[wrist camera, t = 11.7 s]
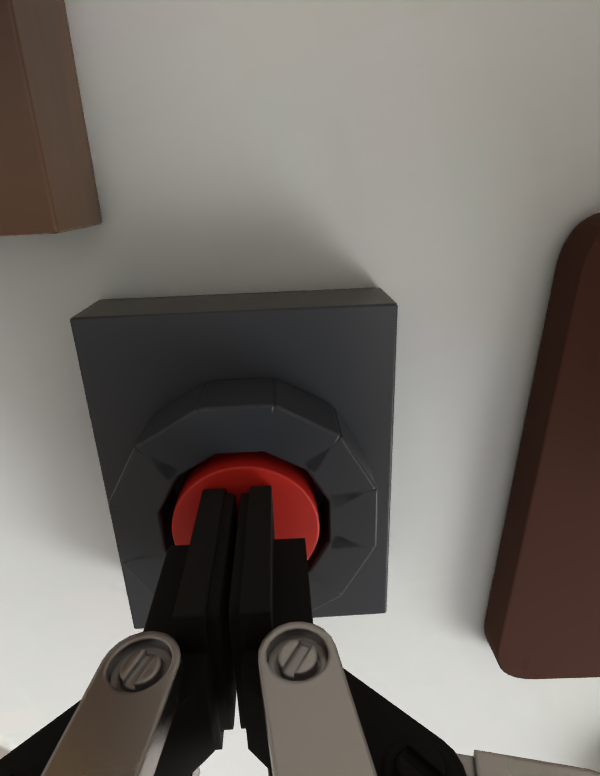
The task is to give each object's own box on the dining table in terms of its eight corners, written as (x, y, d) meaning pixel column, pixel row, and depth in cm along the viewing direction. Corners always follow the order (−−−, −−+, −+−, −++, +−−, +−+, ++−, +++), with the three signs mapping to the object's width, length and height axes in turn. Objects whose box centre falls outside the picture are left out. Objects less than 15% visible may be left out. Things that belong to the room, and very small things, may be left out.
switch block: (98, 299, 14) (35, 338, 10) (380, 287, 14) (417, 321, 11) (149, 579, 18) (116, 682, 14) (374, 566, 18) (399, 663, 14)
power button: (175, 436, 13) (161, 471, 12) (313, 429, 13) (318, 462, 12) (191, 547, 15) (181, 593, 13) (316, 540, 15) (320, 584, 13)
